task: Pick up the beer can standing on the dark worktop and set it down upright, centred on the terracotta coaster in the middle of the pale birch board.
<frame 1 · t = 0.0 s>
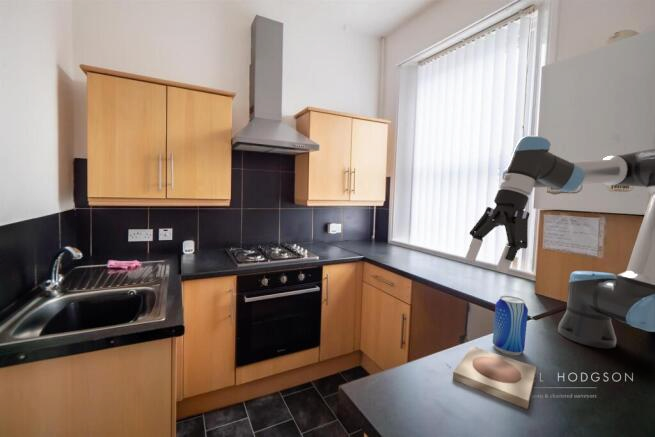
hand: (484, 265, 83), 28 cm above the counter, tool tilted 20°, fingers open, 13 cm apart
beer can: (507, 350, 94), on the counter
birch board: (495, 376, 79), on the counter
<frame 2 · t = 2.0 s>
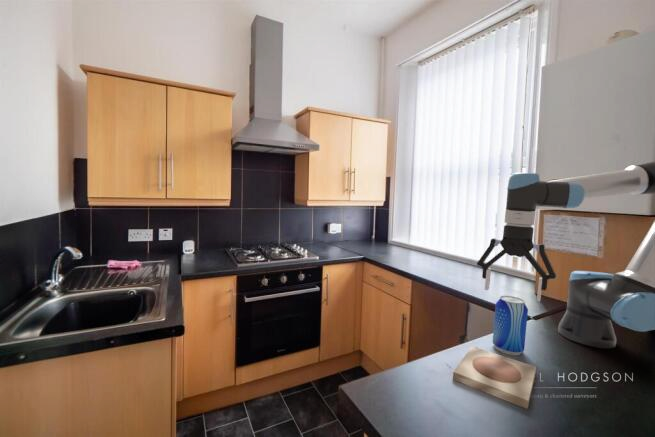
hand: (511, 294, 92), 17 cm above the counter, tool pointing down, fingers open, 13 cm apart
nothing on the counter moved.
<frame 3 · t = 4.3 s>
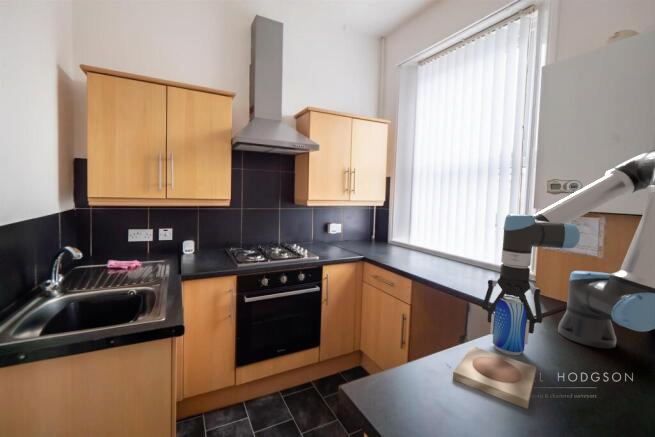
hand: (508, 337, 93), 4 cm above the counter, tool pointing down, fingers closed on beer can, 8 cm apart
beer can: (507, 350, 94), on the counter, touching gripper
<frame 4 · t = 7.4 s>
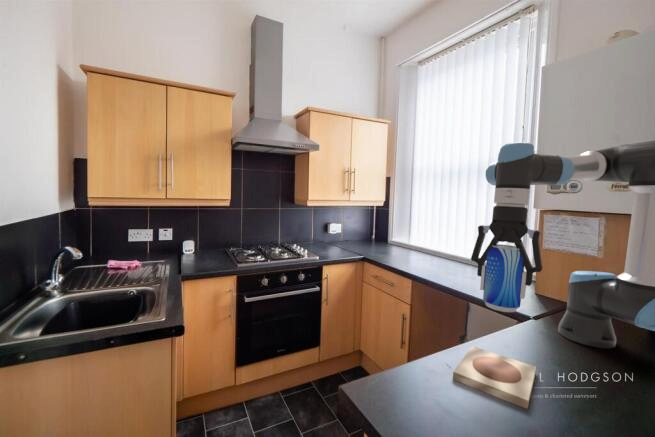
hand: (501, 292, 79), 22 cm above the counter, tool pointing down, fingers closed on beer can, 8 cm apart
beer can: (500, 307, 79), point 18 cm above the counter, touching gripper
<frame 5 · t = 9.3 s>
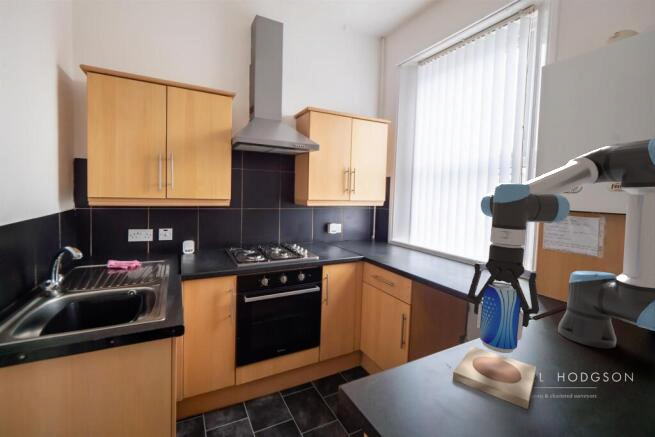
hand: (498, 332, 78), 12 cm above the counter, tool pointing down, fingers closed on beer can, 8 cm apart
beer can: (497, 347, 78), point 8 cm above the counter, touching gripper
when the fingers open (8 cm above the counter, at t = 11.0 s): beer can drops 1 cm, resting on birch board.
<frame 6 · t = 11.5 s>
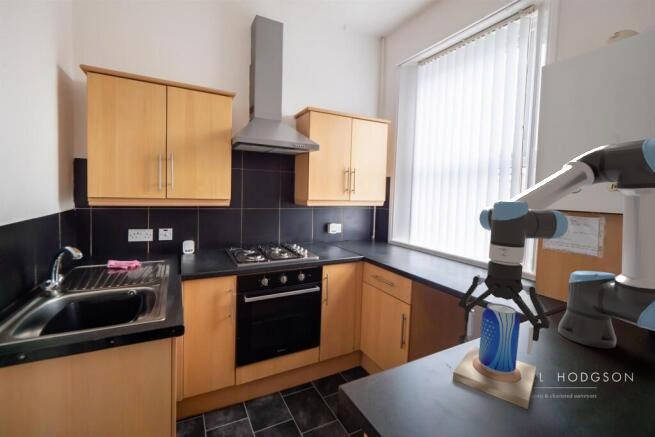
hand: (498, 342, 78), 9 cm above the counter, tool pointing down, fingers open, 13 cm apart
beer can: (496, 368, 79), point 2 cm above the counter, touching birch board
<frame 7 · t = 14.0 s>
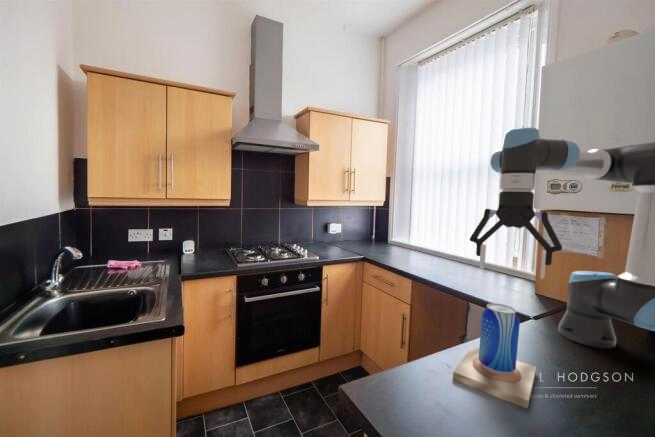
hand: (510, 272, 79), 27 cm above the counter, tool pointing down, fingers open, 13 cm apart
nothing on the counter moved.
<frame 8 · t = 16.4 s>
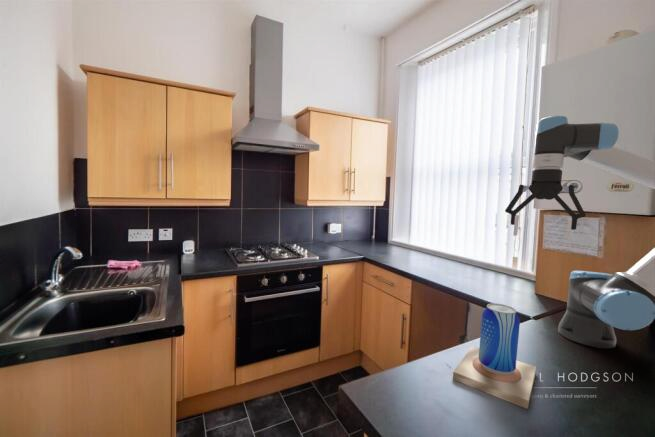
hand: (540, 237, 95), 35 cm above the counter, tool pointing down, fingers open, 13 cm apart
nothing on the counter moved.
at the end: beer can inside the target area on the birch board (0.0 cm from its centre), point 2.2 cm above the birch board's base; beer can tilted 0°; the gripper is holding nothing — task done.
